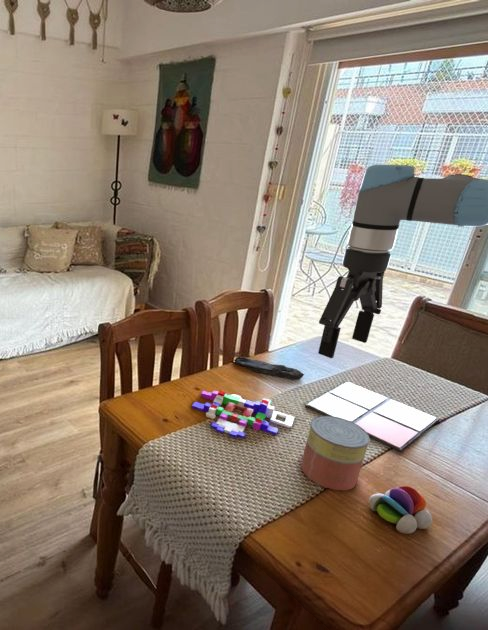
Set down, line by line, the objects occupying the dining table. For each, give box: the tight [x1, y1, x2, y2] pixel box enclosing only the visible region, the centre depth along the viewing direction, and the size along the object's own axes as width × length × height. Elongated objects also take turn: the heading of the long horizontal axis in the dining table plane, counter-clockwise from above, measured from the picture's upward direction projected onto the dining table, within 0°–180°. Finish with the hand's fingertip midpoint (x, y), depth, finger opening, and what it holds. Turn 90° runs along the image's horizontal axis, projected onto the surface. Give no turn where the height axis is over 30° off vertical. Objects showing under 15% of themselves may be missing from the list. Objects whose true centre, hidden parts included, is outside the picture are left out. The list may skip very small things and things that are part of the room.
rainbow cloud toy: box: [368, 485, 433, 535], centre depth 87 cm, size 8×10×7 cm
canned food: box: [300, 415, 371, 491], centre depth 98 cm, size 11×11×12 cm
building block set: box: [191, 390, 295, 439], centre depth 120 cm, size 25×20×4 cm
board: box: [304, 381, 440, 453], centre depth 122 cm, size 24×24×1 cm
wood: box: [230, 356, 305, 381], centre depth 145 cm, size 22×7×3 cm, turn 55°
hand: (342, 347), depth 93 cm, fingers open, 13 cm apart
